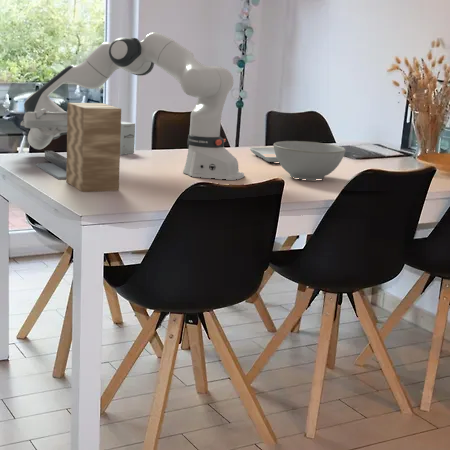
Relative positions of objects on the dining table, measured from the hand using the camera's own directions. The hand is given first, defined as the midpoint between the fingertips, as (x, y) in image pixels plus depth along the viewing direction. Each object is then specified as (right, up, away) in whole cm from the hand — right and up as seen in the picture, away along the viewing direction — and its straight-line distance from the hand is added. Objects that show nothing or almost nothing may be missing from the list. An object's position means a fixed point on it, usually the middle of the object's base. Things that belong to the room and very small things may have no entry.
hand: (57, 111), depth 282 cm
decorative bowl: (+91, -23, +14) cm, 95 cm away
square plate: (+86, -14, +55) cm, 103 cm away
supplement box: (+17, -11, +44) cm, 49 cm away
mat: (+4, -22, -5) cm, 23 cm away
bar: (+1, -19, +2) cm, 20 cm away
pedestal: (+17, -28, -27) cm, 42 cm away
